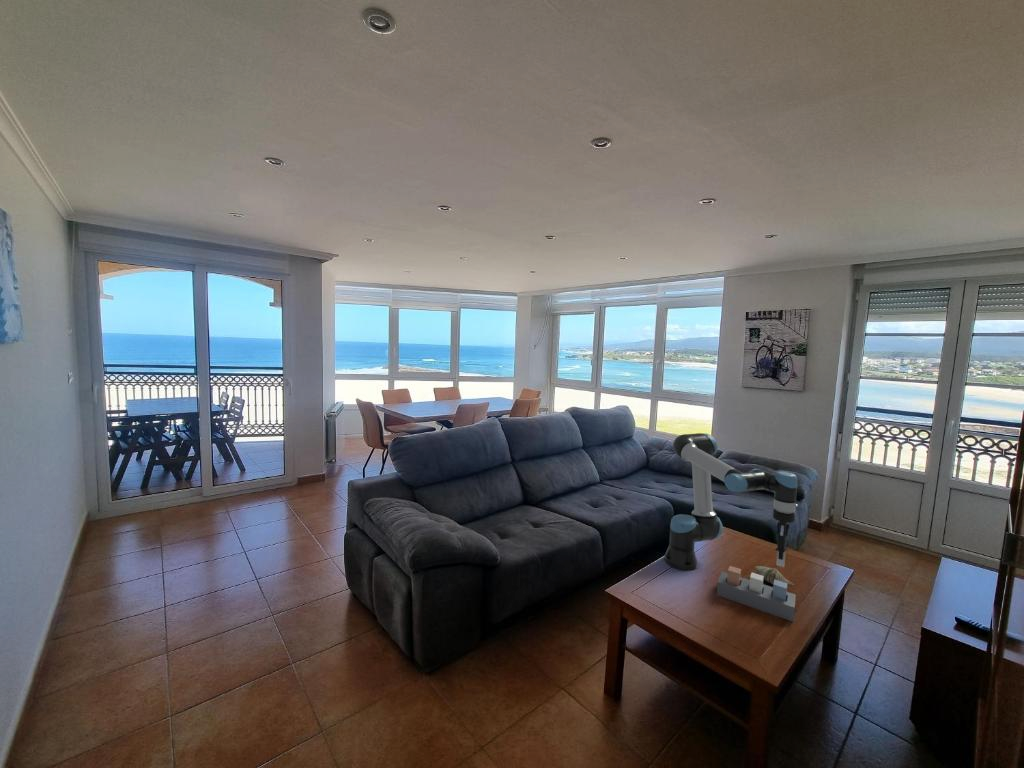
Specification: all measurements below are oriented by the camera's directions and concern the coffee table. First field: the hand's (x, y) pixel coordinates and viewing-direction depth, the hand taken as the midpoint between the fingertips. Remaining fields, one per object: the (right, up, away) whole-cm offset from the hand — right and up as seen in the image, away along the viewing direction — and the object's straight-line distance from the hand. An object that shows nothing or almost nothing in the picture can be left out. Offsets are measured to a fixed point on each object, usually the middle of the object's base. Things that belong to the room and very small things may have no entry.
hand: (780, 565), depth 170 cm
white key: (-6, -14, +7) cm, 17 cm away
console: (-6, -19, +7) cm, 21 cm away
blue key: (+1, -15, +2) cm, 15 cm away
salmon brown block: (-13, -14, +12) cm, 22 cm away
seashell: (+9, -18, +19) cm, 28 cm away
